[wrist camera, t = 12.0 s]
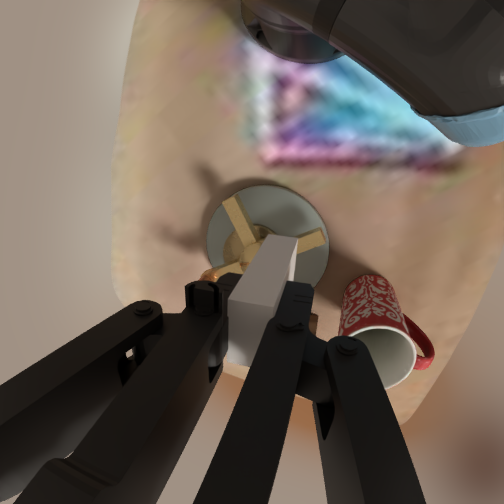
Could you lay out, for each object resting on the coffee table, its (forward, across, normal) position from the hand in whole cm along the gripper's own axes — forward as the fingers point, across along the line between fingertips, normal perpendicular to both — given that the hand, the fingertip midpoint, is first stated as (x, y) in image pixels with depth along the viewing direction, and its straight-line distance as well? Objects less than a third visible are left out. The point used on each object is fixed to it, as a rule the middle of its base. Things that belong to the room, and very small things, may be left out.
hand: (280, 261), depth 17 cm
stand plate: (+24, -5, -9) cm, 26 cm away
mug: (+25, +11, -15) cm, 31 cm away
